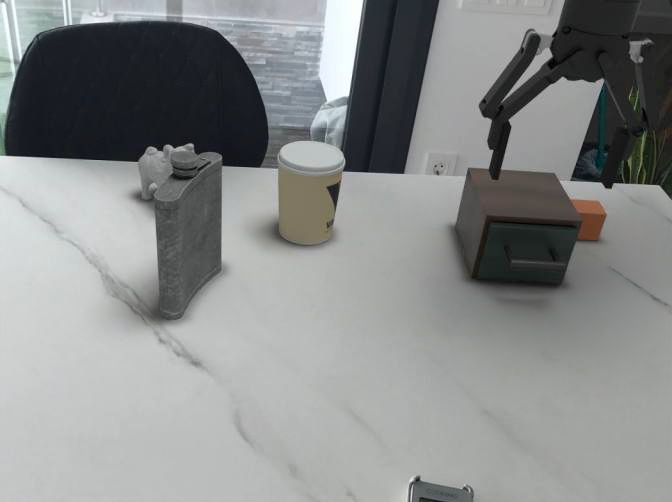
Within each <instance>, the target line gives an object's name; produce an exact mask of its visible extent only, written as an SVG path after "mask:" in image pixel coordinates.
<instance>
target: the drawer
mask: <svg viewBox="0 0 672 502" xmlns="http://www.w3.org/2000/svg"><path fill="white" fill-rule="evenodd" d="M578 232H579V231H578V229H577V228H576V227H567V225H550V224H534V223H517V222H501V221H491V222H490V223H489V227H488V231H487V235H486V239H485V243H484V247H483V251H482V255H481V259H480V263H479V267H478V271H477V275H478V278H488V279H505V280H522V281H539V282H556V283H562V284H563V282H562V280H563V281H564V279H563V277H564V278H565V276H564V274H565V275H566V273H565V271H566V272H567V270H566V268H567V269H568V267H567V265H568V266H569V264H568V262H569V263H570V261H569V259H570V260H571V258H570V256H571V257H572V255H571V253H572V254H573V252H572V250H573V251H574V249H573V247H574V248H575V246H574V244H575V245H576V243H575V241H576V242H577V240H576V238H577V235H578Z"/></svg>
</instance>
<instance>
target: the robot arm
mask: <svg viewBox="0 0 672 502" xmlns="http://www.w3.org/2000/svg"><path fill="white" fill-rule="evenodd" d="M642 1H643V0H563V5H562V8H561V11H560V16H559V20H558V24H557V27H556V29H555V31H554V32H553V33H552V34H545V33H542V32H541V33H540V32H538V31H536V29H535V28H528V29H527V30H526V31H525V33H524V36H523V39H522V42H521V44H520V47H519V49H518V51H517V52H516V53H515V54H514V56H513V57H512V58H511V59H510V61H509V62H508V64H507V65H506V67H505V68H504V70H502V72H501V73H500V74H499V76H498V77H497V79H496V80H495V81H494V83H492V86H491V87H490V88H489V89H488V90H487V92H486V93H485V95H484V96H483V98H482V99H481V100H480V101H479V103H478V108H479V111H480V114H481V117H483V118H485V119H489V120H491V123H490V127H489V129H488V130H489V131H488V135H487V139H486V143H487V146H488V149H489V151H492V154H491V158H490V162H489V166H488V169H489V173H490V176H491V178H492V180H498V179H499V175H500V171H501V170H502V167H503V164H504V159H505V156H506V151H507V147H508V143H509V139H510V135H511V132H512V125H511V122H510V120H511V119H512V118H513V117H514V116H515V115H517V114H518V113H519V112H520V111H521V110H523V109H524V108H525V107H526V106H527V105H528V104H530V103H531V101H533V100H534V99H535V98H536V97H538V96H539V95H540V94H541V93H543V92H544V91H545V90H547V89H548V87H549V86H551V85H554V84H556V83H557V82H559V81H560V80H561V79H562V78H564V79H565V80H566V81H568V82H577V81H584V82H587V83H591V84H592V83H594V84H595V83H596V82H598V81H601V80H603V81H604V83H605V85H606V88H607V90H608V92H609V94H610V96H611V98H612V100H613V102H614V104H615V106H616V109H617V111H618V113H619V115H620V117H621V119H622V121H623V123H624V125H625V127H623V126H616V129H615V132H614V134H613V136H612V137H613V138H612V141H611V143H610V146H609V150H608V152H607V155H606V158H605V160H604V164H603V167H602V170H601V173H600V176H599V177H598V178H599V181H600V182H601V184H602V185H603V188H604V189H605V190H612V189H613V187H614V183H615V181H616V178H617V176H618V173H619V169H620V166H621V164H622V161H629V160H630V159H631V157H632V154H633V151H634V150H635V149H634V148H635V146H636V143H637V141H638V139H640V138H641V137H643V136H644V134H645V132H648V131H651V132H656V131H658V130H659V129H660V127H661V121H660V120H661V118H660V111H659V103H658V96H657V88H656V79H655V70H654V64H655V60H656V59H655V58H656V56H657V50H658V46H657V44H655V43H654V42H653V41H652V40H651V39H650V38H649V37H642V38H641V39H640V40H633V41H630V37H631V34H632V31H633V28H634V26H635V23H636V20H637V17H638V14H639V10H640V8H641V4H642ZM547 48H549V52H550V54H551V56H550V58H549V59H547V60H546V61H545V62H544V63H543V64H542V65H541V66H540V68H539V69H538V70H537V71H536V72H535V73H534V74H533V75H531V76H530V77H529V78H528V79H527V80H526V81H525V82H523V83H522V84H521V85H520V86H519V87H518V88H516V89H515V90H514V91H513V92H512V93H511V94H509V93H510V92H511V90H513V88H514V87H515V85H517V83H518V82H519V80H520V79H521V77H522V76H523V75H524V74H525V72H526V71H527V70H528V68H529V67H530V66H531V64H532V63H533V61H534V59H535V57H536V56H539V55H541V54H542V52H543V51H544V50H545V49H547ZM628 55H630V59H631V60H632V61H633V62H634V68H635V76H636V84H637V90H638V97H639V105H640V112H641V116H638V115H637V113H636V111H635V110H634V107H633V105H632V103H631V100H630V98H629V96H628V93H627V92H626V90H625V88H624V85H623V83H622V79H621V77H620V75H619V74H618V71H617V69H616V67H617V66H618V65H619V64H620V63H621V62H622V61H623V60H624V59H625V58H626V57H627V56H628ZM508 94H509V95H508ZM507 95H508V96H507Z"/></svg>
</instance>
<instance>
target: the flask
mask: <svg viewBox="0 0 672 502" xmlns="http://www.w3.org/2000/svg"><path fill="white" fill-rule="evenodd" d="M170 162H171V164H172V171H173V173H172V174H171V175H170V176H169V177H168V178H167V179H166V180H165V181H164V182H163V183H162V184H161V185H160V186H159V187H158V188H157V189H156V191H155V192H154V194H153V202H154V205H153V206H154V220H155V221H154V222H155V223H154V224H155V237H156V256H157V257H156V259H157V276H158V295H159V296H158V297H159V312H160V313H159V315H160V316H161V317H162V318H164V319H166V320H169V321H170V320H171V321H172V320H173V321H174V320H178V319H180V318H182V317H183V316H184V314H185V311H186V310H187V308H188V306H189V305H190V303H191V301H192V300H193V298H194V297H195V296H196V294H197V293H198V292H199V291H201V289H202V288H203V287H204V286H205V285H206V284H207V283H208V282H209V281H211V279H212V278H214V277H215V276H217V275H218V274H219V273H220V272H222V252H223V251H222V247H223V246H222V235H223V233H222V232H223V231H222V230H223V229H222V228H223V225H222V224H223V221H222V220H223V155H221V154H220V153H218V152H214V151H206V152H205V151H204V152H201V153H200V154H197V152H195V151H194V152H190V151H178V152H175V153H172V154H171V156H170Z"/></svg>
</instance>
